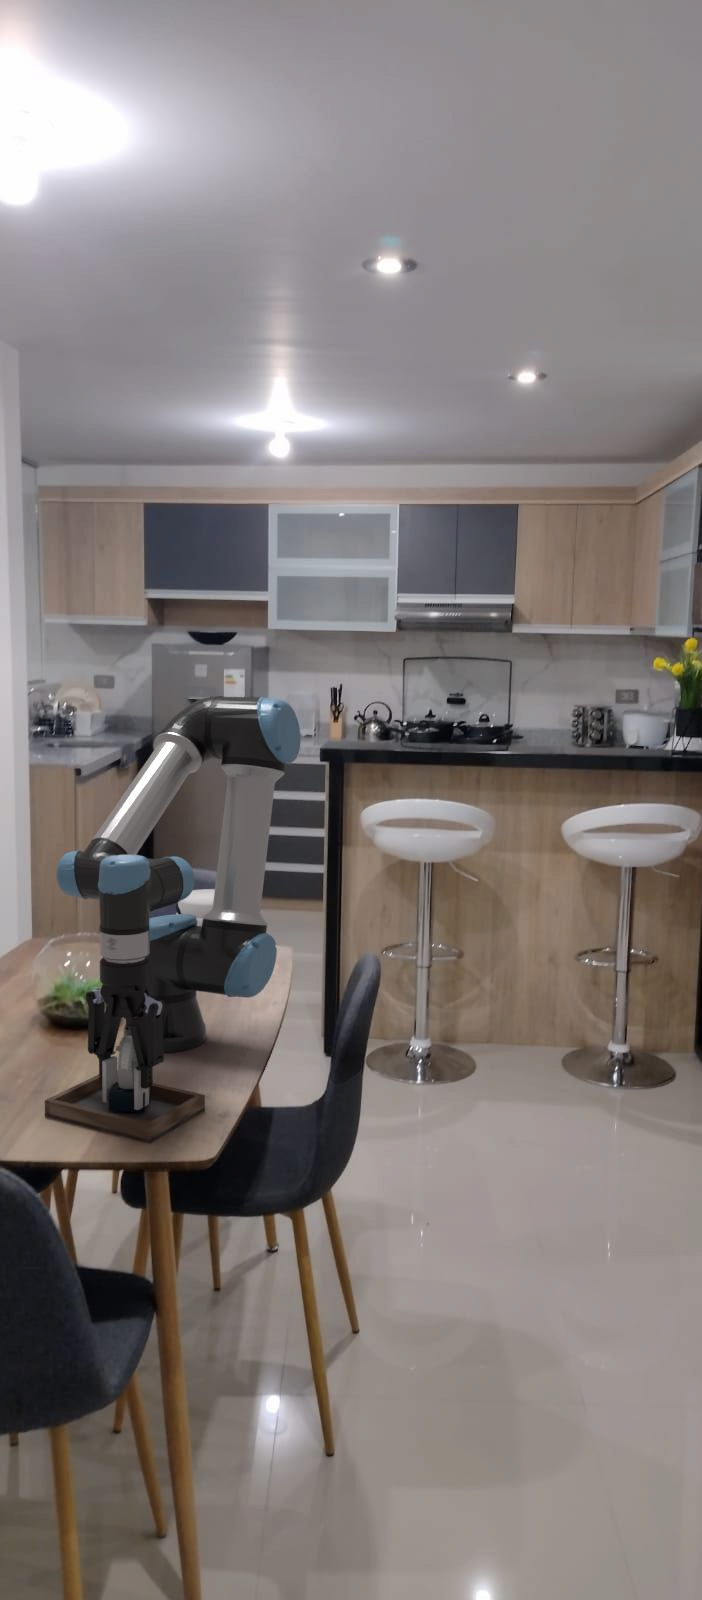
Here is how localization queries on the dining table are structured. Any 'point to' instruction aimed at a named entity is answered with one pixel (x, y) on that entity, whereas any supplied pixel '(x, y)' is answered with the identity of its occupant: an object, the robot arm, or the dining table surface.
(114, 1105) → the watch
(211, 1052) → the dining table surface
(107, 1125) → the valet tray
